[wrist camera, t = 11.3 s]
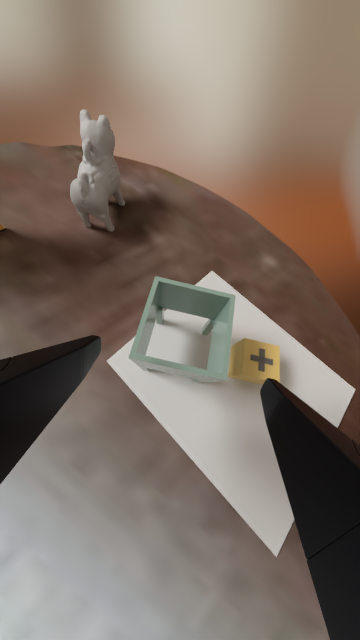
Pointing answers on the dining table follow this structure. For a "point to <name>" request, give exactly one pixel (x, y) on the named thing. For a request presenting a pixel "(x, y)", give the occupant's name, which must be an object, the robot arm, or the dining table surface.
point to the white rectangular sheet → (232, 407)
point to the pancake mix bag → (2, 226)
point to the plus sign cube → (254, 361)
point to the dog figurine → (96, 171)
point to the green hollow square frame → (194, 303)
